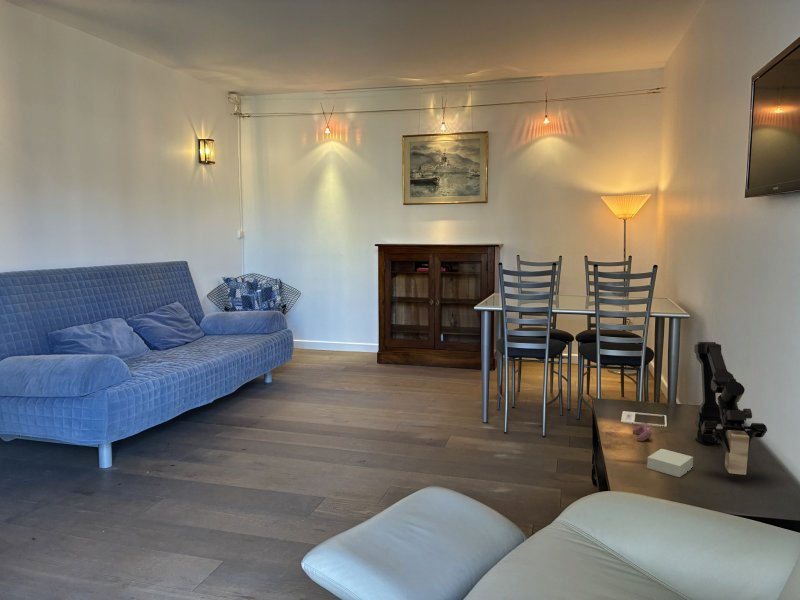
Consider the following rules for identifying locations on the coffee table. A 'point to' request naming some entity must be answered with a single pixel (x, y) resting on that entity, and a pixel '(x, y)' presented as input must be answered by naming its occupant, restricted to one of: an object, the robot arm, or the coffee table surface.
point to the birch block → (737, 452)
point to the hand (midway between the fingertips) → (738, 453)
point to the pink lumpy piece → (643, 431)
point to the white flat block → (670, 462)
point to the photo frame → (630, 418)
